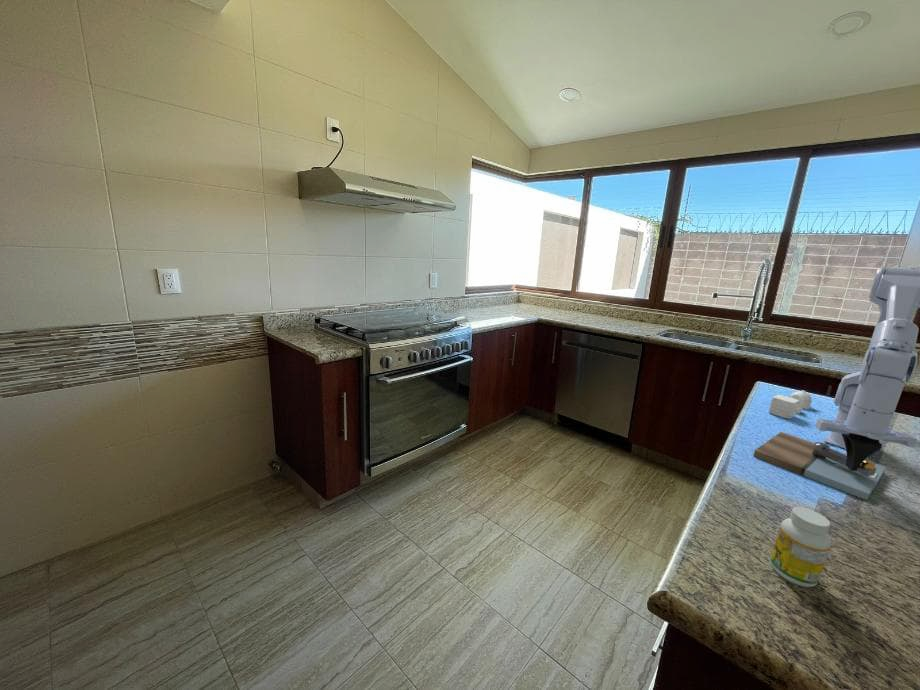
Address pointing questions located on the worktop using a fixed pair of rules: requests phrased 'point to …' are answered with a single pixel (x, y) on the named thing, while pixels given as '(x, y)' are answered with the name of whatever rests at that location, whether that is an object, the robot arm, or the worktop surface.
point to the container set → (790, 404)
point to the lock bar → (842, 458)
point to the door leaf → (844, 477)
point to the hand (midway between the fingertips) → (850, 468)
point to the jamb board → (787, 452)
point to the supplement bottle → (802, 547)
